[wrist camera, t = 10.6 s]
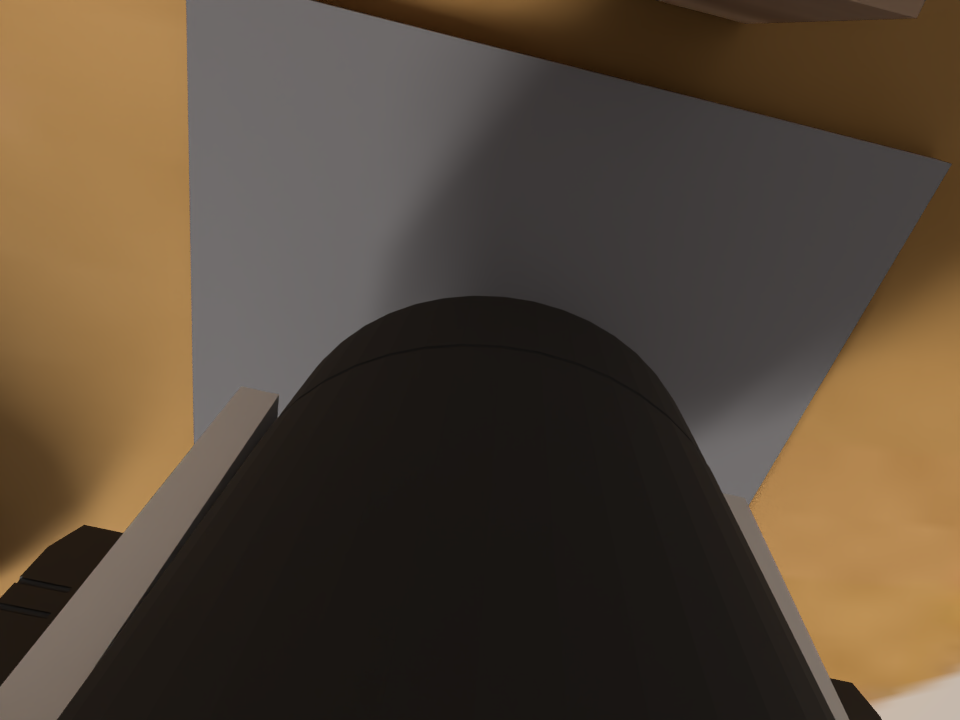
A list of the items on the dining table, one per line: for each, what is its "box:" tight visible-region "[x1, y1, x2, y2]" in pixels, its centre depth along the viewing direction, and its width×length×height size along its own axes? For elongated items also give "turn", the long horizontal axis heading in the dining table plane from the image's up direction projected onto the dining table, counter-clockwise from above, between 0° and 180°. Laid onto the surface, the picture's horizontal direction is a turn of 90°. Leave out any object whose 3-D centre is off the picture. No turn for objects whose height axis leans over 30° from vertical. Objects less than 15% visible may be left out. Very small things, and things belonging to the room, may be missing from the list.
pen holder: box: [57, 296, 835, 720], centre depth 9 cm, size 9×9×10 cm
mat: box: [186, 0, 952, 505], centre depth 16 cm, size 16×16×1 cm
